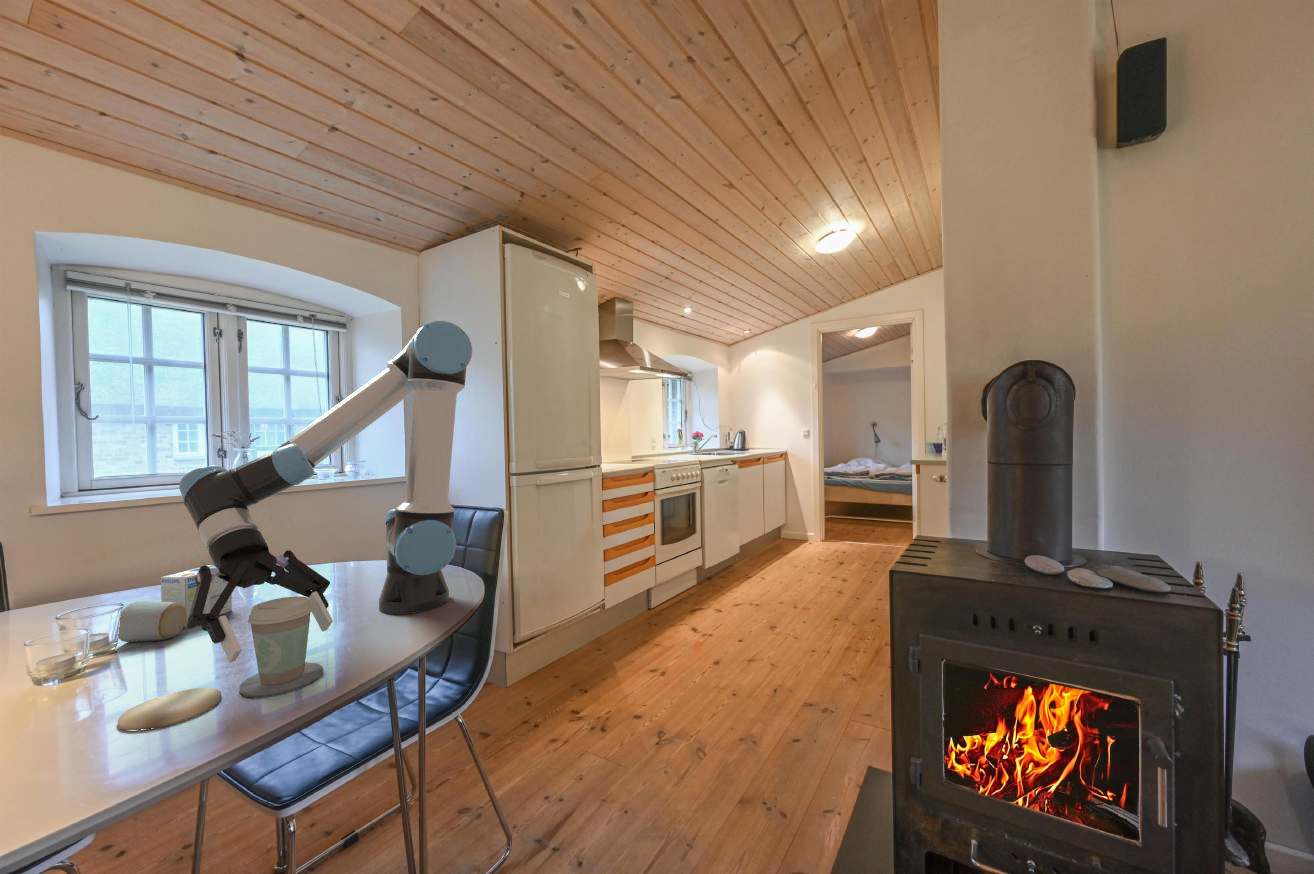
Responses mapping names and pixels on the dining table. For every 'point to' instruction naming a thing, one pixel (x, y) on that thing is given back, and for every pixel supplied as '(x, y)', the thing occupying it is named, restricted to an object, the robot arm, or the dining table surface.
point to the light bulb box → (192, 590)
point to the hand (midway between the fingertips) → (285, 640)
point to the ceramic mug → (151, 621)
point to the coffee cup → (280, 638)
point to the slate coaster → (256, 689)
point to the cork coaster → (169, 709)
